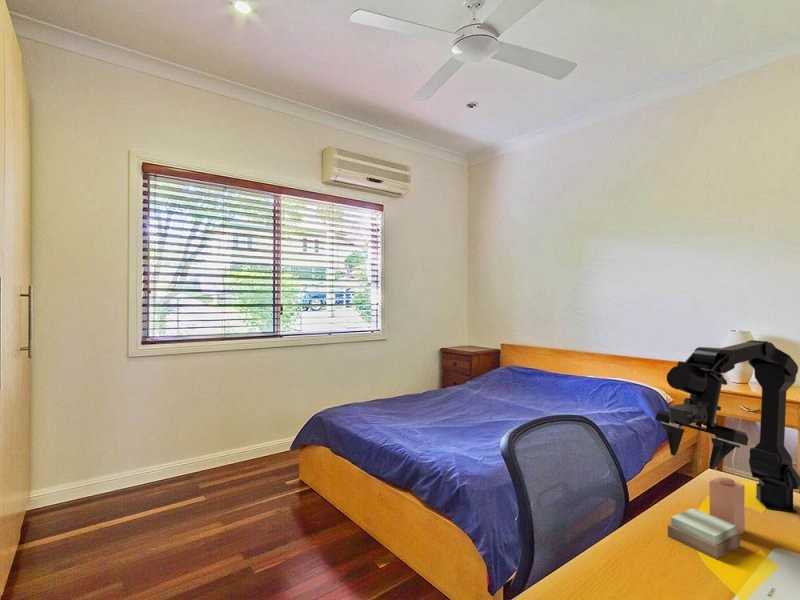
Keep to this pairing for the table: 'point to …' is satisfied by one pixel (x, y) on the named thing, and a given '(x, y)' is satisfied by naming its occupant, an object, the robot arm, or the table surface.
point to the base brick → (704, 533)
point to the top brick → (728, 501)
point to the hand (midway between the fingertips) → (691, 462)
